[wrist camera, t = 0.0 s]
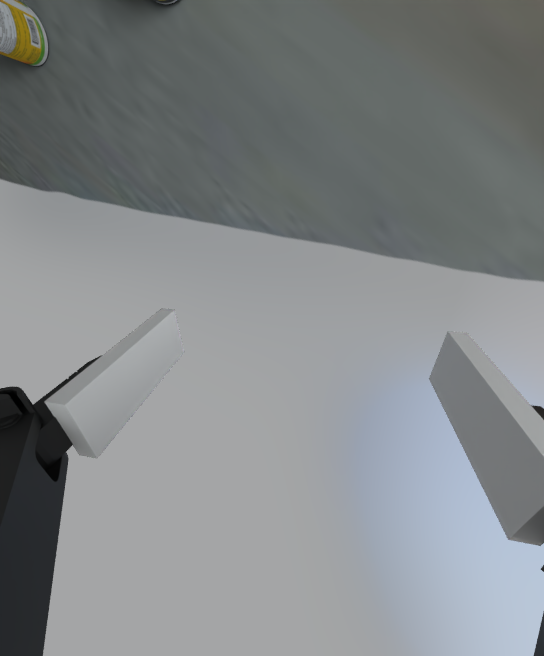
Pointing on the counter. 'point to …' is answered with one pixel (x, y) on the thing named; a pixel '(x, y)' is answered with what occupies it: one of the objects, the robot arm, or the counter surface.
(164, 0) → the pill bottle
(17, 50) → the supplement bottle
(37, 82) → the counter surface
